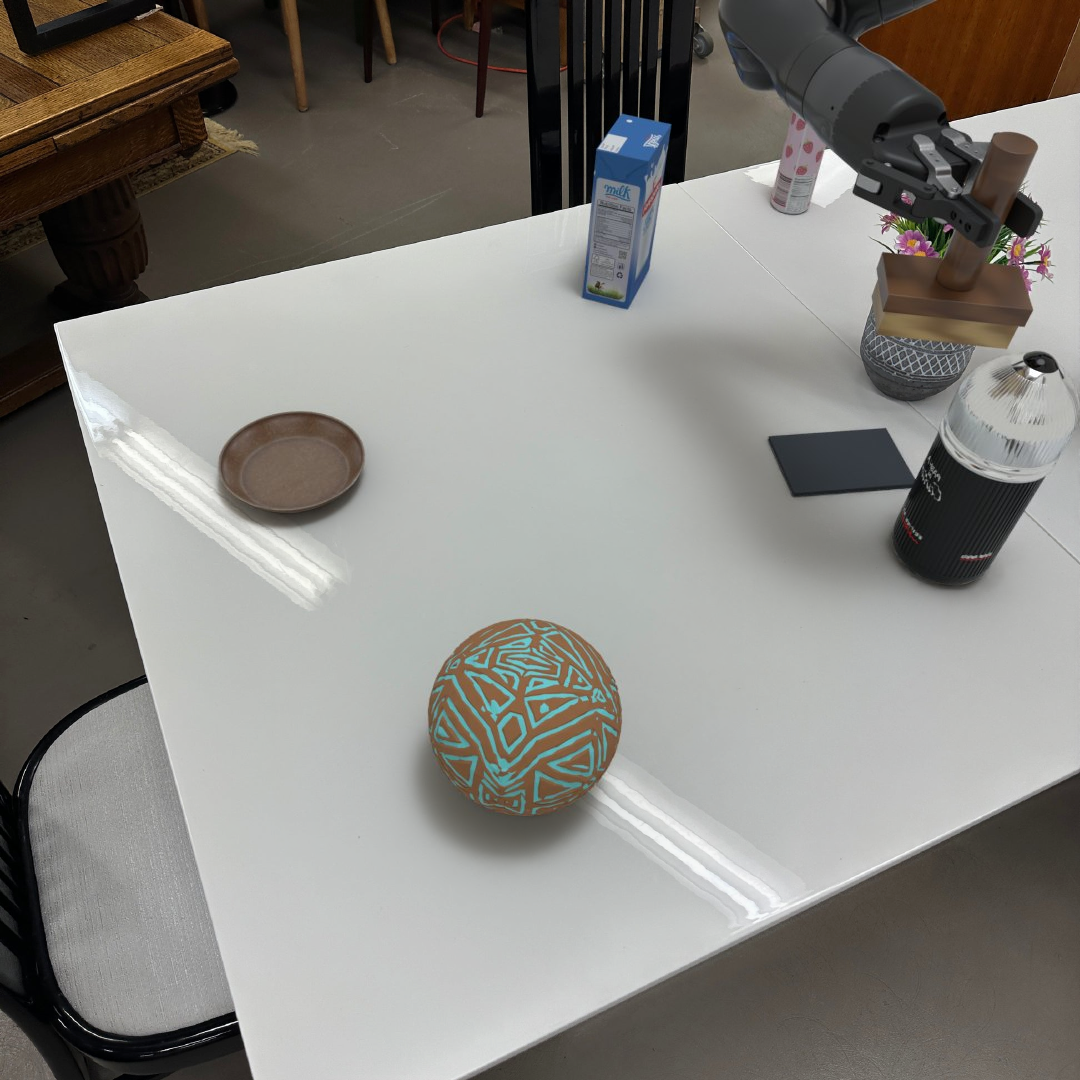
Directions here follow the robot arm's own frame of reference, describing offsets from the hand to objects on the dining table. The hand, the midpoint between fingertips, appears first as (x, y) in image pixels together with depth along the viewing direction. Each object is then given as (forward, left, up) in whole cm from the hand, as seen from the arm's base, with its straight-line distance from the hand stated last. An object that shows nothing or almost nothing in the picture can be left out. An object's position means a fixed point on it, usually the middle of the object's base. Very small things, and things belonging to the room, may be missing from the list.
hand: (1013, 230), depth 67 cm
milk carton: (+14, -52, -38) cm, 66 cm away
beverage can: (-16, -70, -38) cm, 81 cm away
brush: (0, -3, -10) cm, 10 cm away
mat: (-4, -16, -38) cm, 41 cm away
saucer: (+55, -20, -38) cm, 70 cm away
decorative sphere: (+36, +16, -38) cm, 55 cm away
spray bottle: (-10, -2, -38) cm, 40 cm away
